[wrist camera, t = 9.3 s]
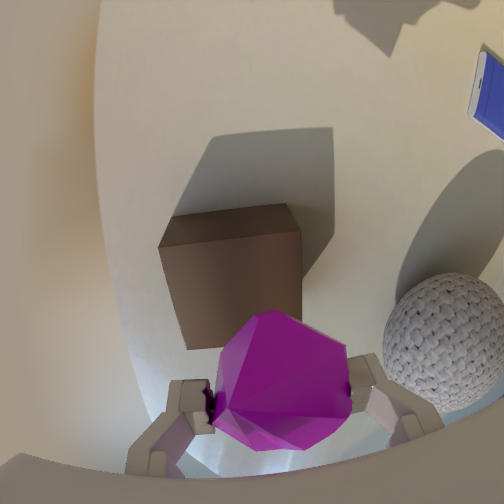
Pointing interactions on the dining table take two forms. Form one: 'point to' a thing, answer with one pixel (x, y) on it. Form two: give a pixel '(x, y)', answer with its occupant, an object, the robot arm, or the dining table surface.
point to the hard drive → (488, 95)
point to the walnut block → (231, 270)
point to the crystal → (281, 384)
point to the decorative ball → (446, 341)
